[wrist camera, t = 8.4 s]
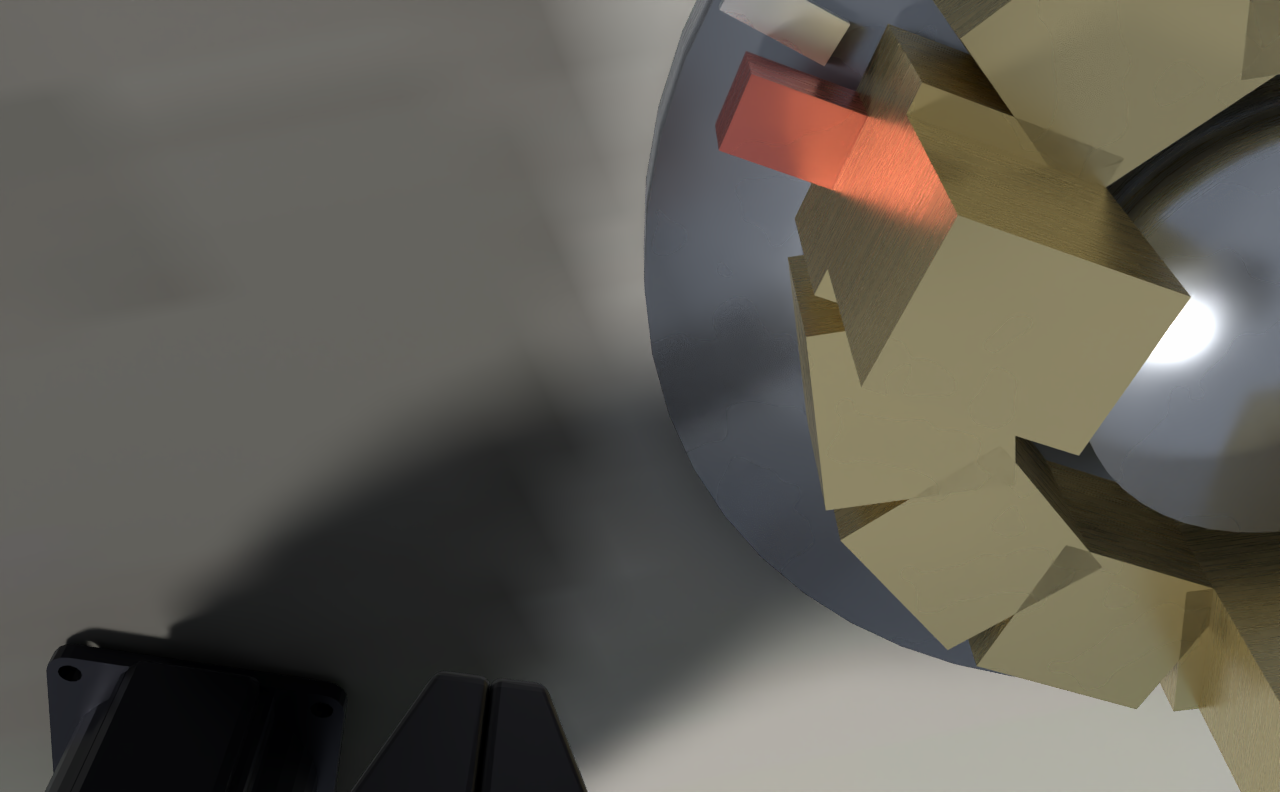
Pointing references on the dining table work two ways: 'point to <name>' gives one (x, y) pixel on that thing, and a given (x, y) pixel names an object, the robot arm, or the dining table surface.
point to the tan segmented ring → (1018, 341)
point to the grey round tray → (766, 330)
